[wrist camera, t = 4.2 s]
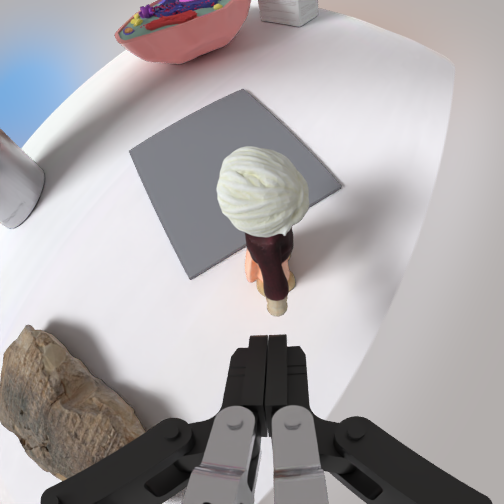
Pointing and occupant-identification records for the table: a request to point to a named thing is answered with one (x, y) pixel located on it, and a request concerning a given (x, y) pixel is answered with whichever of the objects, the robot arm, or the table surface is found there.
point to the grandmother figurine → (264, 216)
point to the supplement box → (288, 11)
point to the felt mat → (214, 174)
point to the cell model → (182, 28)
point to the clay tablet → (60, 406)
